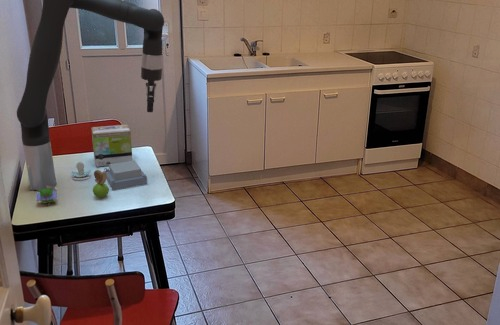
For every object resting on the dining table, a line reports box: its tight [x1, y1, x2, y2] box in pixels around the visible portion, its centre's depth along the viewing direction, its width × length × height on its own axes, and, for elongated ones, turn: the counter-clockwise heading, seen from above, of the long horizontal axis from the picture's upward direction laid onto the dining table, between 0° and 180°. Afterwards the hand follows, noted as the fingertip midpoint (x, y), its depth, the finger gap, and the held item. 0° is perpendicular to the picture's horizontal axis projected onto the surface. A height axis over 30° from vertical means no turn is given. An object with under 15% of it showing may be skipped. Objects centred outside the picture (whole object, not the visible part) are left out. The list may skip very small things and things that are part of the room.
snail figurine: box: [92, 167, 110, 199], centre depth 172 cm, size 5×6×12 cm
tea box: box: [90, 124, 133, 168], centre depth 205 cm, size 15×10×15 cm, turn 111°
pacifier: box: [70, 161, 92, 181], centre depth 190 cm, size 7×6×6 cm
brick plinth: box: [105, 160, 148, 191], centre depth 187 cm, size 13×13×6 cm
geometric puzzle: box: [35, 185, 58, 206], centre depth 168 cm, size 7×7×8 cm
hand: (150, 108), depth 185 cm, fingers open, 8 cm apart
